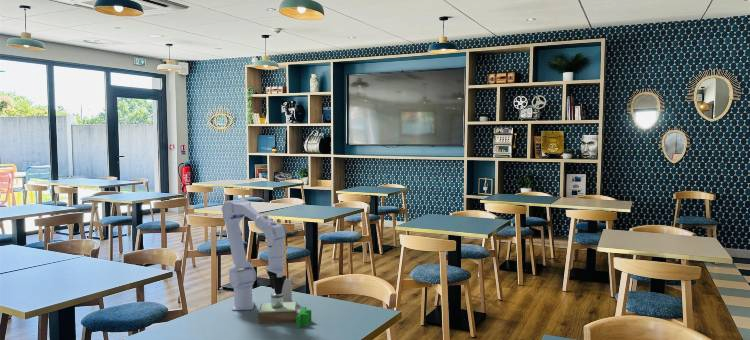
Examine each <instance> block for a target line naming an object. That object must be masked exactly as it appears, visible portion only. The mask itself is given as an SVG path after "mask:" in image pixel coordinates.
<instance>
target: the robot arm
mask: <svg viewBox="0 0 750 340" xmlns="http://www.w3.org/2000/svg"><path fill="white" fill-rule="evenodd" d="M221 212H222V216H223V222H224V223H225V228H226V233H227V237H228V241H229V242H228V243H229V247H230V252H231V257H232V261H233V263H232V265H231V266H230V267H229V269H228V273H229V274H228V282H229V284H230V285H231V286H232V288H233V301H234V303H233V307H232V309H231V311H243V310H245V311H246V310H253V308H254V305H255V301H253V285H254V283H255V281H257V272H256V270H255V268H254V265H253V263H252V262H250V261H248V260H247V255H246V250H245V245H244V240H243V236H242V231H241V227H240V223H241V221H242V220H244V218H245V217H247V218H248V219H249V220H251V221H252V222H254V226H255V227H256V228H257V229H258V230H260V232H261V233H263V234H264V237H265V239H266V244H267V246H268V247H267V251H268V252H267V253H268V255H267V257H268V258H267V259H268V260H267V261H268V267H265V269H264V271H266V273H267V275H268V278H269V282H270V286H271V289H272V290H274V293H275V294H281V293H282V288H283V284H284V281H285V279H287V275H286V274H285V275H283V272H284V271H285V267H284V266H285V265H284V261H285V259H284V256H285V255H284V239H285V238H286V236H287V229H286V226H285V225H284V224H283V223H276V221H274V220H273V219H271V218H270V217H269V216H268V215H267V214H260V213H259V212H258V211H257V210H256V209H255V208H254V207H253V206H252V204H251V202H250V201H249V200H248V199H246V198H242V199H235V200H234V199H233V200H225V201H224V202H223V204H222V206H221Z"/></svg>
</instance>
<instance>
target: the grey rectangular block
mask: <svg viewBox="0 0 750 340" xmlns="http://www.w3.org/2000/svg"><path fill="white" fill-rule="evenodd" d="M282 293H283V302H293V284H292V278H286V279H285V281H284V284H283V288H282Z"/></svg>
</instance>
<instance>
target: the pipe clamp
mask: <svg viewBox="0 0 750 340" xmlns="http://www.w3.org/2000/svg"><path fill="white" fill-rule="evenodd" d="M311 322H312V309H307V307H306V306H303V307H302V308H301V309H300V311H299V312H298V313H297V316H296V322H295V325H296V326H295V328H296V329H300V328H301V327H302V326H304V327H305V326H306V327H309V326H310V325H309V323H311Z"/></svg>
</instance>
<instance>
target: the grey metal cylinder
mask: <svg viewBox="0 0 750 340" xmlns="http://www.w3.org/2000/svg"><path fill="white" fill-rule="evenodd" d="M270 303H271V308H275V309H278V308H282V307H283V293H281V294H275V292H272V293H271V294H270Z"/></svg>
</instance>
